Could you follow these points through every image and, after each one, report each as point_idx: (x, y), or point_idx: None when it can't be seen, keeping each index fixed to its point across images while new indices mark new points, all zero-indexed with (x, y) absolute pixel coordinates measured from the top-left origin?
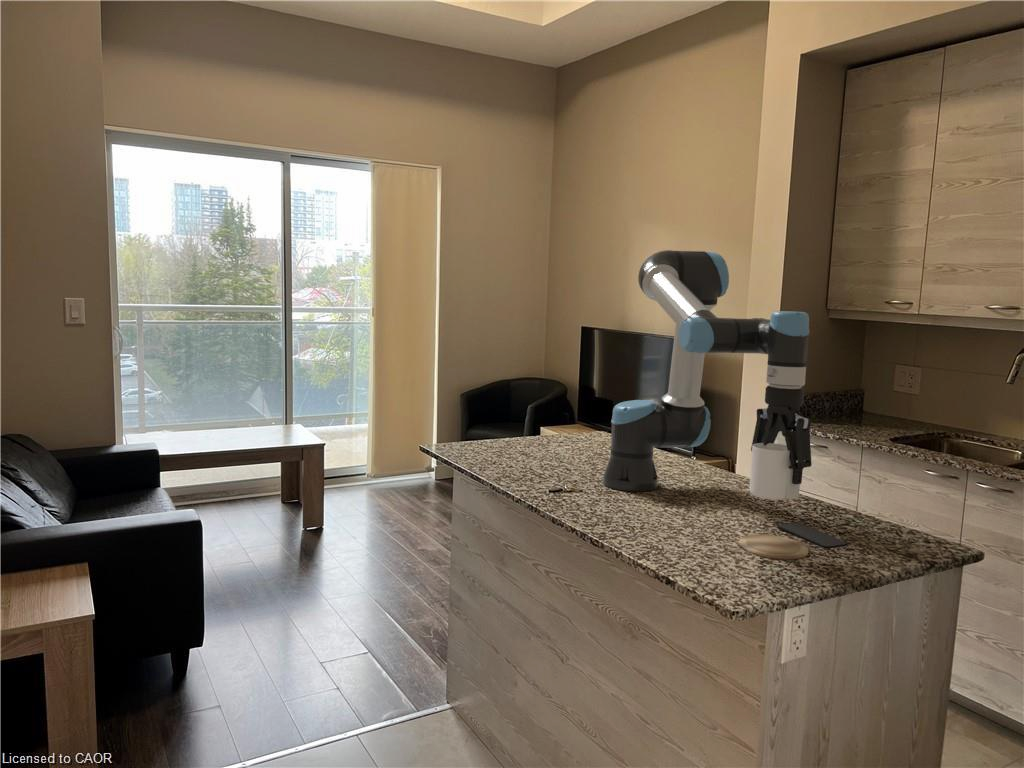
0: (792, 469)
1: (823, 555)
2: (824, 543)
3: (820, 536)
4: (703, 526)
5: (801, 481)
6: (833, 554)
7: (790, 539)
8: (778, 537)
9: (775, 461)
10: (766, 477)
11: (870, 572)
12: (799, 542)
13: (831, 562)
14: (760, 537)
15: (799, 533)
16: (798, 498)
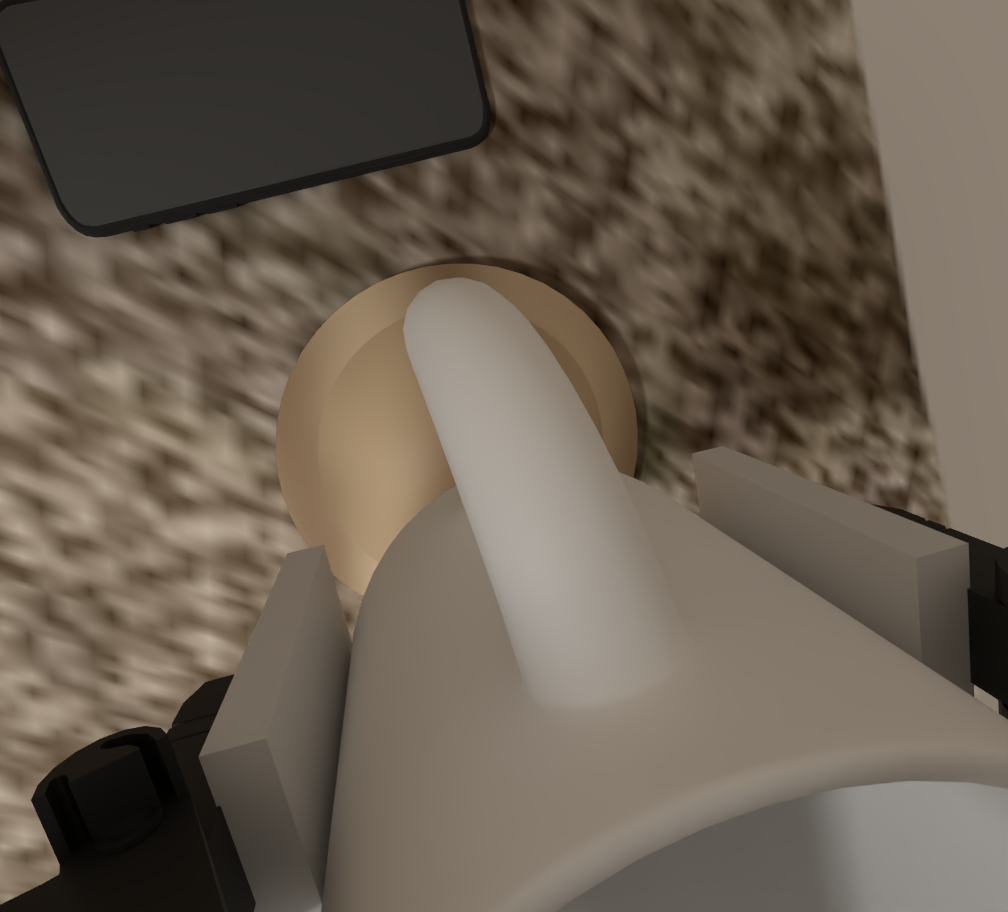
0: (956, 678)
1: (594, 224)
2: (433, 101)
3: (304, 40)
4: (79, 692)
5: (903, 513)
6: (586, 154)
7: (376, 298)
8: (338, 355)
9: None
10: (758, 867)
11: (835, 121)
12: (431, 271)
13: (690, 244)
14: (342, 469)
15: (245, 160)
16: (723, 448)
